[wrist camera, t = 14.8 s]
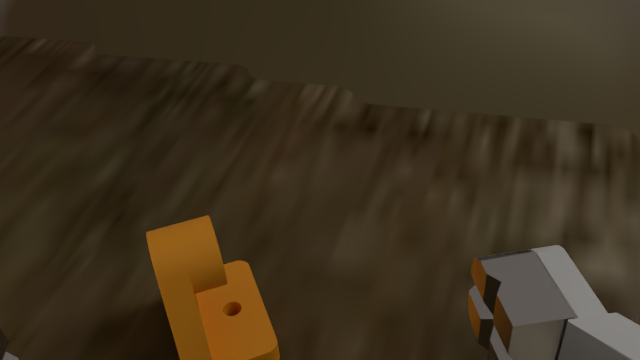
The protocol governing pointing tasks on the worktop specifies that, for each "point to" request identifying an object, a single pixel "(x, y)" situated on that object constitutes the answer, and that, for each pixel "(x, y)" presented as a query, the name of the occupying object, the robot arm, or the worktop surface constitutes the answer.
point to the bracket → (209, 296)
